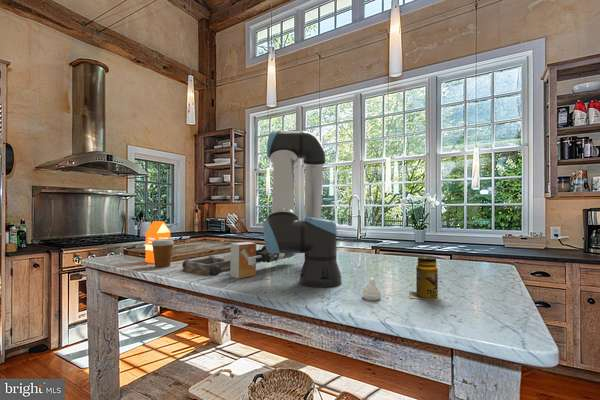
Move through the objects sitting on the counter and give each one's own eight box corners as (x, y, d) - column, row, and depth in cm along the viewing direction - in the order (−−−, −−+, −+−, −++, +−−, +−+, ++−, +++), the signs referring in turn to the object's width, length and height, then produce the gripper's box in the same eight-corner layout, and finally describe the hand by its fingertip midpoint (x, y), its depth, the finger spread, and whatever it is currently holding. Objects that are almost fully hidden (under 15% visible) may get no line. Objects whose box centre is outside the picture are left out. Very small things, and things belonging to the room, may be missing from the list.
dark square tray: (245, 268, 136) (245, 259, 136) (211, 276, 120) (211, 266, 121) (215, 263, 147) (215, 255, 148) (180, 270, 132) (180, 260, 132)
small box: (238, 279, 116) (238, 244, 116) (229, 276, 121) (230, 243, 121) (256, 275, 122) (256, 242, 122) (247, 273, 126) (247, 241, 126)
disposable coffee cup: (168, 268, 135) (168, 241, 136) (146, 268, 135) (147, 241, 136) (177, 264, 145) (177, 239, 145) (157, 264, 145) (157, 239, 145)
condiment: (440, 301, 89) (440, 260, 90) (409, 298, 92) (409, 258, 92) (437, 294, 96) (437, 256, 97) (408, 292, 99) (408, 254, 99)
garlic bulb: (383, 280, 90) (364, 280, 90) (383, 300, 90) (364, 301, 90) (377, 276, 96) (360, 276, 95) (377, 295, 95) (360, 295, 95)
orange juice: (156, 263, 147) (156, 221, 148) (145, 261, 152) (145, 221, 152) (170, 261, 154) (170, 221, 154) (159, 259, 159) (159, 220, 159)
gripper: (294, 264, 129) (260, 273, 111) (252, 258, 143) (215, 265, 125) (294, 246, 129) (260, 252, 111) (252, 242, 143) (215, 247, 125)
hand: (236, 259), depth 118 cm, fingers open, 12 cm apart
